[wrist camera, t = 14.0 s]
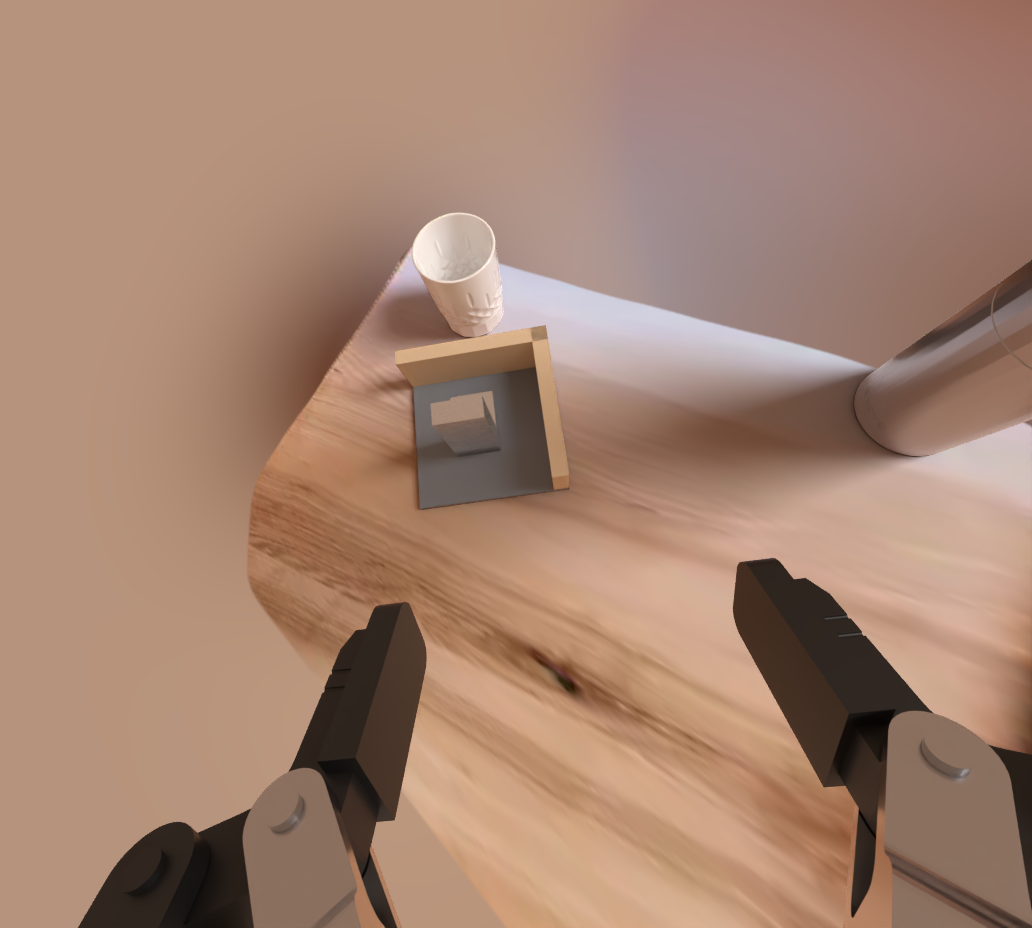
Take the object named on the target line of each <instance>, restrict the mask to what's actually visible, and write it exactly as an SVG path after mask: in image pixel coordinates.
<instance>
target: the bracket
mask: <svg viewBox="0 0 1032 928" xmlns="http://www.w3.org/2000/svg"><path fill="white" fill-rule="evenodd" d="M431 417H432V426H433V427H434V428H435V430H436V431H437V432H438V433H439V434H440V435H441V437H442V438H443V439H444V440H445V441H446V443H447V444H448V445H449V446H450V447H451V448H452V450H453V451H454V452H455V453H456V454H457V456H458V457H461V456H468V455H474V454H481V453H487V452H494V451H500V450H501V447H500V439H499V430H498V422H497V413H496V405H495V397H494V394H493V392H492V391H487V392H481V393H475V394H469V395H463V396H457V397H451V398H450V400H448V401H442V402H436V403H431Z"/></svg>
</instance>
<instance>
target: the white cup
mask: <svg viewBox="0 0 1032 928" xmlns="http://www.w3.org/2000/svg"><path fill="white" fill-rule="evenodd" d="M412 259H413V263H414V265H415V267H416V269H417V271H418V273H419V274H420V276H421V278H422V280H423V282H424V284H425V285H426V287H427V289H428V291H429V293H430V295H431V296H432V298H433V300H434V302H435V304H436V305H437V307H438V308H439V310H440V312H441V313H442V314H443V315H444V317H445V319H446V321H447V322H448V324H449V326H450V327H451V329H452V330H453V331H454V332H456V333H458V334H460V335H461V336H463V337H479V336H482V335H485V334H488V333H490V332H491V331H492V330H493V329H494V328H495V327H497V326H498V325H499V323H500V320H501V318H502V316H503V314H504V312H503V299H502V286H501V277H500V270H499V264H498V257H497V251H496V244H495V237H494V234H493V231H492V229H491V228H490V227H489V225H488V224H487V223H486V222H485V221H484V220H482V219H481V218H479V217H477V216H475V215H472V214H468V213H451V214H446V215H443V216H440V217H438V218H436V219H434V220H432V221H431V222H429V223H428V224H427V225H426V226H425V227H423V228H422V230H421V231H420V232H419V233H418V235H417V237H416V238H415V240H414V243H413V247H412Z"/></svg>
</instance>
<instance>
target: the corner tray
mask: <svg viewBox="0 0 1032 928" xmlns="http://www.w3.org/2000/svg"><path fill="white" fill-rule="evenodd" d="M395 358H396V365H397V367H398V368H399V369H400V371H401V372H402V373H403V374H404V376H405V377H406V378H407V380H408V381H409V382H410V383H411V385H412V386H413V390H414V409H415V427H416V446H417V464H418V483H419V501H420V509H421V510H423V509H430V508H437V507H445V506H452V505H459V504H466V503H473V502H480V501H487V500H494V499H502V498H509V497H516V496H523V495H530V494H537V493H544V492H551V491H559V490H566V489H569V469H568V463H567V457H566V450H565V444H564V438H563V431H562V425H561V419H560V412H559V406H558V400H557V394H556V387H555V381H554V375H553V368H552V362H551V356H550V349H549V343H548V337H547V330H546V325H545V326H539V327H533V328H527V329H521V330H516V331H510V332H504V333H498V334H492V335H486V336H481V337H475V338H469V339H463V340H457V341H451V342H445V343H440V344H434V345H428V346H422V347H416V348H410V349H405V350H399V351H395ZM487 391H492V392H493V394H494V397H495V405H496V413H497V422H498V430H499V439H500V447H501V450H500V451H494V452H487V453H481V454H474V455H468V456H461V457H458V456H457V454H456V453H455V452H454V451H453V450H452V448H451V447H450V446H449V445H448V444H447V443H446V441H445V440H444V439H443V438H442V437H441V435H440V434H439V433H438V432H437V431H436V430H435V428H434V427H433V426H432V417H431V403H436V402H442V401H448V400H450V398H451V397H457V396H463V395H469V394H475V393H481V392H487Z"/></svg>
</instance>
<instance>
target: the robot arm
mask: <svg viewBox="0 0 1032 928" xmlns="http://www.w3.org/2000/svg"><path fill="white" fill-rule="evenodd" d="M854 408H855V412H856V416H857V418H858V420H859V422H860V424H861V426H862V428H863V429H864V430H865V431H866V433H867V434H868V435H869V436H870V437H871V438H872V439H873V440H875V441H876V442H877V443H879V444H880V445H882V446H884V447H885V448H887V449H889V450H892V451H894V452H897V453H900V454H905V455H909V456H926V455H933V454H936V453H939V452H941V451H944V450H947V449H950V448H953V447H955V446H958V445H961V444H964V443H967V442H969V441H972V440H975V439H978V438H981V437H984V436H987V435H989V434H992V433H995V432H998V431H1000V430H1003V429H1006V428H1009V427H1011V426H1014V425H1017V424H1020V423H1022V422H1025V421H1028V420H1031V419H1032V260H1031V261H1029V262H1028V263H1026V264H1025V265H1024V266H1022V267H1021V268H1019V269H1018V270H1016V271H1015V272H1014V273H1013V274H1011V275H1010V276H1008V277H1007V278H1005V279H1004V280H1003V281H1001V282H1000V283H998V284H997V285H996V286H994V287H993V288H991V289H990V290H988V291H987V292H986V293H984V294H983V295H981V296H980V297H979V298H977V299H976V300H974V301H973V302H971V303H970V304H969V305H967V306H966V307H964V308H963V309H962V310H960V311H959V312H957V313H956V314H954V315H953V316H952V317H950V318H949V319H947V320H946V321H945V322H943V323H942V324H940V325H939V326H937V327H936V328H935V329H933V330H932V331H930V332H929V333H928V334H926V335H925V336H923V337H922V338H921V339H919V340H918V341H916V342H915V343H913V344H912V345H911V346H909V347H908V348H906V349H905V350H903V351H902V352H900V353H899V354H897V355H896V356H895V357H893V358H892V359H890V360H889V361H888V362H886V363H885V364H883V365H882V366H881V367H879V368H878V369H876V370H875V371H873V372H872V373H871V374H869V375H868V376H867V377H866V378H865V379H864V380H863V381H862V382H861V383H860V385H859V387H858V388H857V391H856V394H855V398H854ZM733 614H734V619H735V623H736V626H737V629H738V632H739V634H740V636H741V638H742V640H743V641H744V643H745V645H746V647H747V649H748V650H749V652H750V654H751V656H752V658H753V659H754V661H755V663H756V665H757V667H758V669H759V670H760V672H761V674H762V676H763V678H764V679H765V681H766V683H767V685H768V687H769V689H770V690H771V692H772V694H773V696H774V698H775V699H776V701H777V703H778V705H779V707H780V709H781V710H782V712H783V714H784V716H785V718H786V719H787V721H788V723H789V725H790V727H791V729H792V730H793V732H794V734H795V736H796V738H797V739H798V741H799V743H800V745H801V747H802V749H803V750H804V752H805V754H806V756H807V758H808V759H809V761H810V763H811V765H812V767H813V768H814V770H815V772H816V774H817V776H818V778H819V779H820V781H821V783H822V785H823V787H834V786H846V787H847V789H848V791H849V793H850V794H851V796H852V798H853V799H854V801H855V803H856V805H855V808H854V815H853V827H852V838H851V849H850V861H849V872H848V883H847V895H846V906H845V916H844V924H843V928H1032V912H1031V906H1030V900H1031V901H1032V755H1031V754H1026V753H1021V752H1016V751H1011V750H1006V749H1002V748H998V747H994V746H991V745H988V744H986V743H985V742H984V741H983V740H982V739H981V738H980V737H978V736H977V735H976V734H974V733H973V732H971V731H970V730H968V729H967V728H965V727H964V726H962V725H960V724H958V723H956V722H955V721H952V720H950V719H948V718H946V717H943V716H940V715H937V714H934V713H933V712H932V711H930V710H929V709H928V708H927V706H926V705H925V704H924V703H923V702H922V701H921V700H920V699H919V698H918V696H917V695H916V694H915V693H914V692H913V691H912V689H911V688H910V687H909V686H908V685H907V684H906V682H905V681H904V680H903V679H902V678H901V677H900V675H899V674H898V673H897V672H896V671H895V670H894V668H893V667H892V666H891V665H890V664H889V663H888V661H887V660H886V659H885V658H884V657H883V656H882V654H881V653H880V652H879V651H878V650H877V649H876V647H875V646H874V645H873V644H872V643H871V642H870V640H869V639H868V638H867V637H866V636H863V635H862V631H861V630H860V629H859V628H858V626H857V625H856V624H855V623H854V622H853V621H852V619H851V618H850V619H849V618H848V617H847V614H846V612H845V611H844V610H843V609H842V608H841V607H840V605H839V604H838V603H837V602H836V601H835V600H834V598H833V597H832V596H831V595H830V594H829V593H827V592H826V591H824V590H823V589H821V588H820V587H818V586H817V585H815V584H814V583H812V582H811V581H809V580H808V579H806V578H802V579H793V578H792V576H791V575H790V574H789V573H788V571H787V570H786V569H785V568H784V566H783V565H782V564H781V563H780V562H779V561H778V560H777V559H775V558H770V559H761V560H753V561H745V562H740V563H739V564H738V566H737V574H736V583H735V593H734V603H733ZM425 669H426V647H425V642H424V640H423V637H422V634H421V632H420V629H419V627H418V624H417V622H416V619H415V617H414V614H413V612H412V609H411V607H410V605H409V604H408V603H407V602H403V603H395V604H387V605H379V606H376V607H375V608H374V610H373V612H372V615H371V617H370V620H369V623H368V625H367V628H366V629H363V630H356V631H355V632H354V634H353V635H352V636H351V637H350V638H349V640H348V641H347V642H346V643H345V645H344V646H343V647H342V648H341V649H340V652H339V654H338V657H337V659H336V661H335V664H334V666H333V669H332V675H330V676H329V678H328V681H327V683H326V686H325V692H324V693H322V695H321V698H320V700H319V702H318V705H317V707H316V710H315V712H314V715H313V717H312V719H311V722H310V724H309V726H308V729H307V731H306V734H305V736H304V739H303V741H302V743H301V746H300V748H299V751H298V753H297V756H296V758H295V760H294V762H293V765H292V767H291V768H290V770H289V772H288V773H286V774H284V775H282V776H281V777H279V778H278V779H277V780H275V781H274V782H273V783H272V784H271V785H270V786H269V787H268V788H266V789H265V791H264V792H263V793H262V794H261V795H260V797H259V798H258V799H257V801H256V802H255V804H254V805H253V807H252V808H251V809H249V810H247V811H245V812H243V813H241V814H239V815H237V816H235V817H232V818H230V819H228V820H226V821H223V822H221V823H219V824H217V825H214V826H212V827H210V828H208V829H206V830H204V831H201V832H199V833H197V832H196V831H195V830H193V829H192V828H191V827H190V826H189V825H187V824H186V823H182V822H173V823H169V824H166V825H163V826H161V827H159V828H157V829H155V830H153V831H152V832H151V833H149V834H147V835H146V836H145V837H143V838H142V839H141V840H140V841H138V842H137V843H136V844H135V845H134V846H133V847H132V848H131V849H130V850H129V851H128V852H127V853H126V854H125V855H124V856H123V857H122V858H121V860H120V861H119V862H118V863H117V865H116V866H115V867H114V869H113V870H112V871H111V873H110V875H109V876H108V878H107V879H106V881H105V883H104V885H103V886H102V888H101V890H100V891H99V893H98V895H97V896H96V898H95V900H94V901H93V903H92V905H91V907H90V908H89V910H88V912H87V914H86V915H85V917H84V919H83V920H82V922H81V924H80V925H79V927H78V928H402V927H401V924H400V921H399V918H398V916H397V913H396V910H395V908H394V905H393V902H392V899H391V896H390V894H389V891H388V888H387V886H386V883H385V880H384V877H383V875H382V872H381V869H380V867H379V864H378V861H377V858H376V855H375V853H374V850H373V848H372V845H371V843H372V838H373V834H374V830H375V826H376V822H380V821H392V820H395V816H396V811H397V806H398V801H399V796H400V791H401V787H402V782H403V777H404V772H405V767H406V762H407V757H408V752H409V747H410V743H411V738H412V733H413V728H414V723H415V718H416V713H417V708H418V703H419V699H420V694H421V689H422V684H423V679H424V674H425Z"/></svg>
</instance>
